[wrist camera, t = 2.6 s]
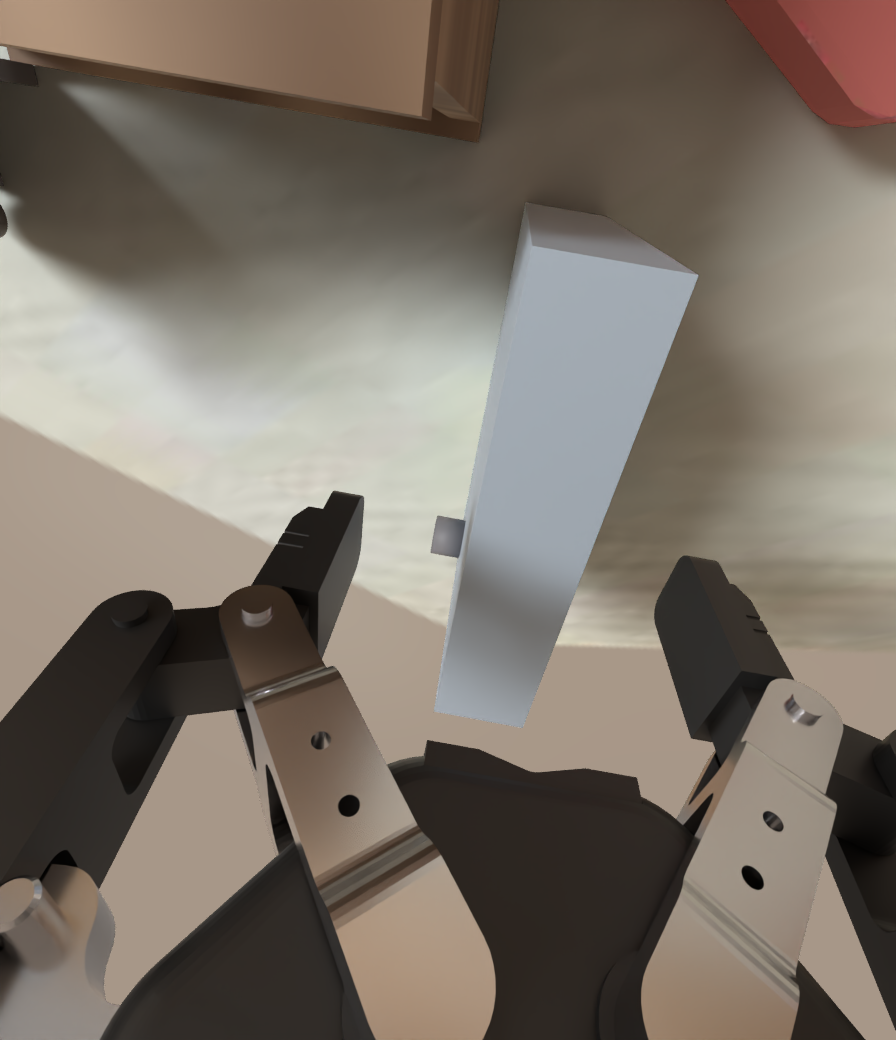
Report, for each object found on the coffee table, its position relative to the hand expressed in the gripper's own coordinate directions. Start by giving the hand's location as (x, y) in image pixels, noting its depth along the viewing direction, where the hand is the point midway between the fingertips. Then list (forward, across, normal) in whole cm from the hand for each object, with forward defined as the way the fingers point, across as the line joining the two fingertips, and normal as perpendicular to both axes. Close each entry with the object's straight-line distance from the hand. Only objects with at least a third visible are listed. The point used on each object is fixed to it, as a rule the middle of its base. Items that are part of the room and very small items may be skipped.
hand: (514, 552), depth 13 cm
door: (+12, 0, 0) cm, 12 cm away
